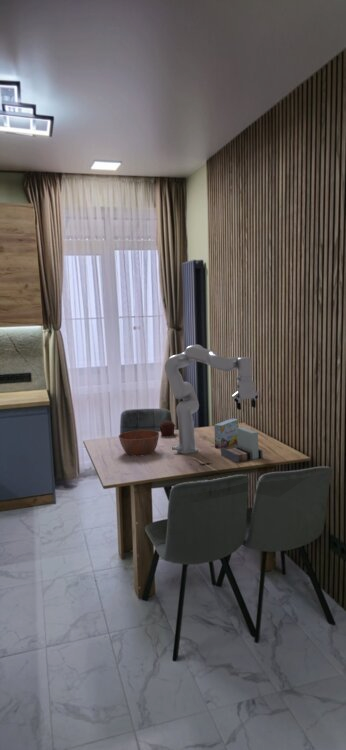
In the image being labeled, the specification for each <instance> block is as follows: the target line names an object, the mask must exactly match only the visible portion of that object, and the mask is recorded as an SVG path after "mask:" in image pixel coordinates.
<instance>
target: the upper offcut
mask: <svg viewBox="0 0 346 750" xmlns="http://www.w3.org/2000/svg"><path fill="white" fill-rule="evenodd" d="M226 449H227V450H229V451H232V452H234V453H236V454H238V455H239V458H243V457H247V453H245V452H243V451H240V450H238V449H236V448H234V447H233V448H226Z"/></svg>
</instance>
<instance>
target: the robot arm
mask: <svg viewBox="0 0 346 750" xmlns="http://www.w3.org/2000/svg"><path fill="white" fill-rule="evenodd" d="M195 362H198V363H202V364H205V365H207V366H210V367H212V368H214V369H217V370H219V371H220V370H221V371H224V372H232V371H233V370H234V371H235V370H237V377H236V381H237V383H236V392H235V393H234V394H232V399H233V401H234V402H235V403H236V408H237V410H239V411H240V410H242V404H241V401H242V400H249V399H251V400H250V401H251V403H250V404H251V408H254V409H255V408H256V405H257V404H256V403H257V399H259V395H260V392H259V391H257V390H256V386H255V383H254V380H253V378H252V374H253V373H252V359H251V357H250V356H229V357H225V356H220V355H218V354H216V353H214V351H213V350H211V349H207V348H205V347H204V346H202V345H201V344H193V345H192V344H191V345H189V346H187V347H186V348H185V350H184V352H181V353H178V354H174V355H172V356H169V358H167V360H166V361H165V364H164V371H165V374H166V377H167V379H168V383H169V387H170V389H171V392H172V395H173V397H174V399H176V400H182V401H180V402H179V403H178V404H177V405H176V408H175V409H176V410H175V411H176V417H177V423H178V427H177V428H178V444H177V445H176V446H172V447H171V448H172V451H174V450H175V451H176V452H177V453H179V454H182V455H183V454H186V455H191V454H194V453H197V452H198V448H197V447H196V443H195V442H196V440H195V422H194V416H193V414H195V413H197V412H198V410H199V407H200V403H199V400H198V397H197V394H196V391H195V389H194V386H193V385H192V383H190V382H189V381H184V379H183V376H182V373H181V372H180V370H179V369H182V368H186V367H188V366H190V365H191V364H193V363H195Z"/></svg>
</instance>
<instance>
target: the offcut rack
mask: <svg viewBox="0 0 346 750" xmlns="http://www.w3.org/2000/svg"><path fill="white" fill-rule="evenodd" d="M233 448H236V449H238V450H240V451H243V452H245V453H247V460H243V461H239V455H238V454H236V453H234V452H232V451H229V450H227V449H228V448H226V447H224V448H223V447H222V448H220V456H222V457H224V458H226V459H228V460H229V461H232V462H234V463H236V464H240V463H244V462H249V461H255V460H259V459H263V454H264V453H263V450H262V449H260V448H258V453H259V458H257V459H252V452H250V451H248V450H246V449H243V448H241V447H239V446H238V445H236V444H235V445H234V446H233Z"/></svg>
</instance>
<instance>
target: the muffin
mask: <svg viewBox="0 0 346 750" xmlns="http://www.w3.org/2000/svg"><path fill="white" fill-rule="evenodd" d="M158 427H159V429H160V434H161V437H164V436H165V437H167V436H168V437H173V436H174V435H175V428H176V425H175V423H174V422H173V421H171V420H164V421H162V422H161V423H160V424H159V426H158ZM172 435H173V436H172Z"/></svg>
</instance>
